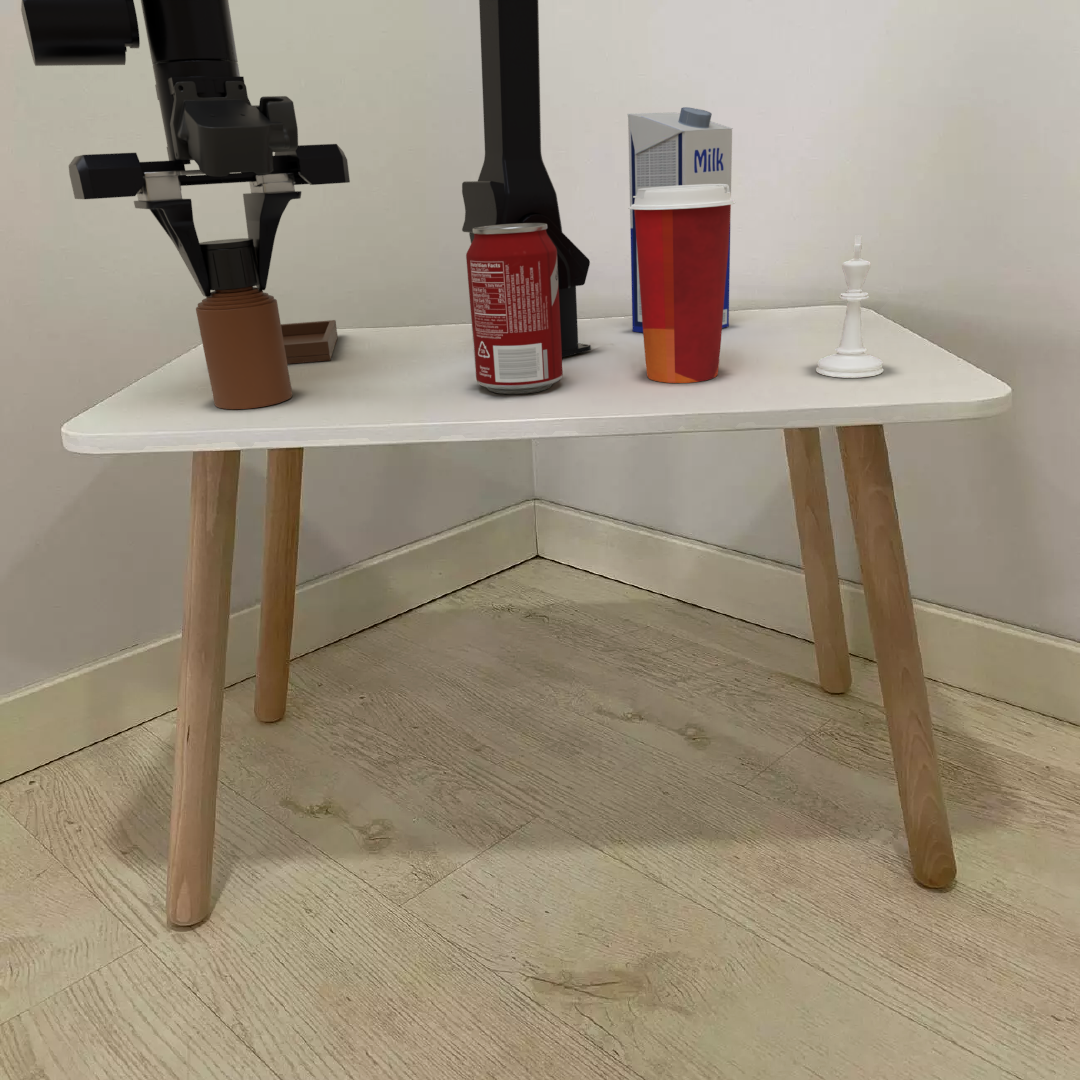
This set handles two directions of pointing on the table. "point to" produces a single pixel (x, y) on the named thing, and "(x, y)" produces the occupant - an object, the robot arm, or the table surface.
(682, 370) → the paper cup
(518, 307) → the soda can
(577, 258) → the robot arm
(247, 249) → the cap
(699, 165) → the milk carton
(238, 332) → the bottle
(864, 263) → the chess piece
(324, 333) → the tray
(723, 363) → the table surface
